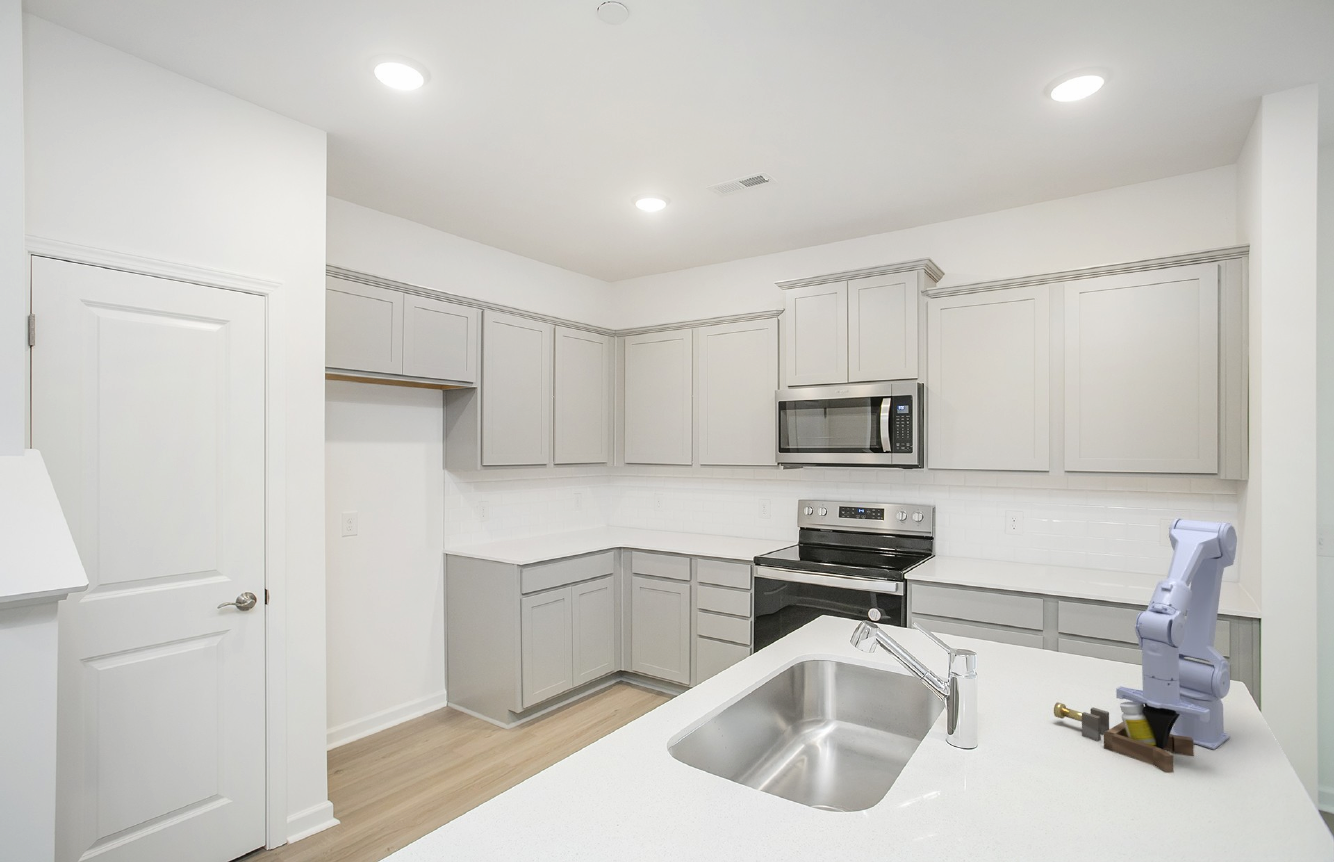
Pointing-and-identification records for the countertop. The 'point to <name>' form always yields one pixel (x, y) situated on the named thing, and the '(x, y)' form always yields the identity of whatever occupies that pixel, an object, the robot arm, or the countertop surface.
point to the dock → (1133, 741)
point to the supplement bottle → (1137, 723)
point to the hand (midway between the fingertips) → (1161, 746)
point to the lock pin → (1066, 712)
